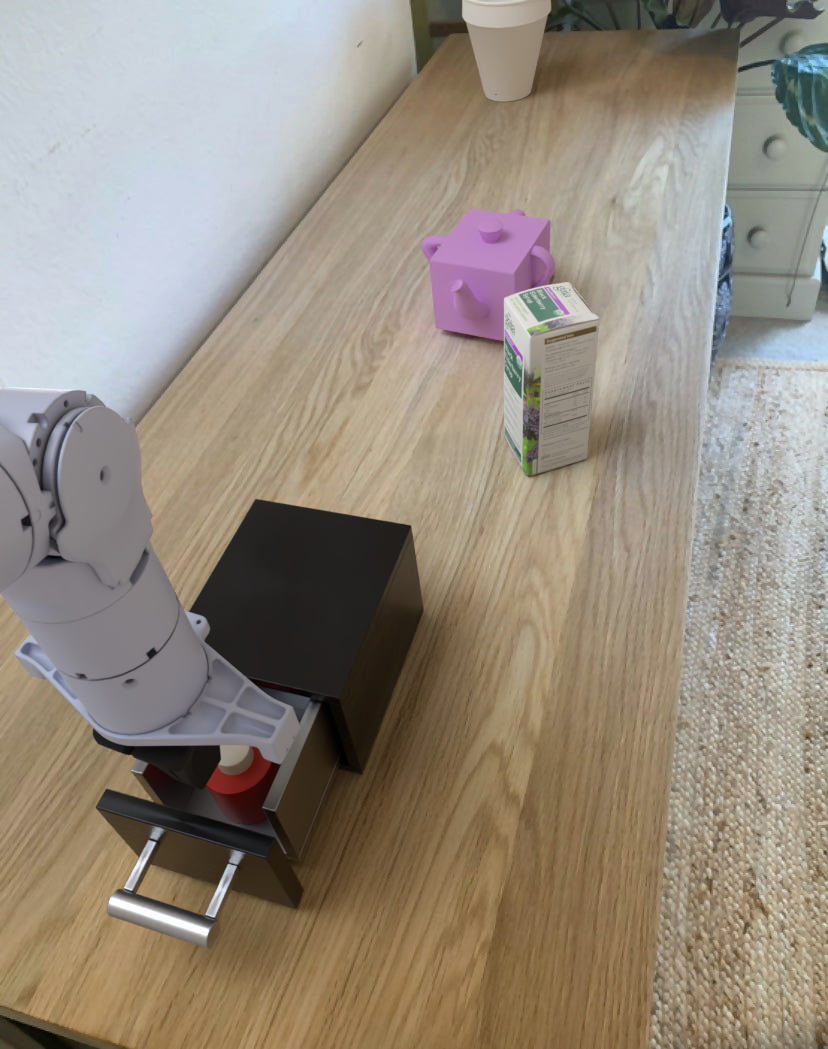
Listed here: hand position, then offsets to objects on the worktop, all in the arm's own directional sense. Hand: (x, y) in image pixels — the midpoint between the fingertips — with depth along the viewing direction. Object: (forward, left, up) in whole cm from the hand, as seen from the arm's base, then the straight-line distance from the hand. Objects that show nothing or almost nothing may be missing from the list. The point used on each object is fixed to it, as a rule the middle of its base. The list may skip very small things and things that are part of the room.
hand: (202, 769), depth 46 cm
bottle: (+2, 0, -8) cm, 8 cm away
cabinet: (+13, 0, -10) cm, 16 cm away
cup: (+113, +10, -10) cm, 114 cm away
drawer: (+1, 0, -9) cm, 9 cm away
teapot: (+57, -1, -10) cm, 58 cm away
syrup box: (+39, -11, -10) cm, 41 cm away
